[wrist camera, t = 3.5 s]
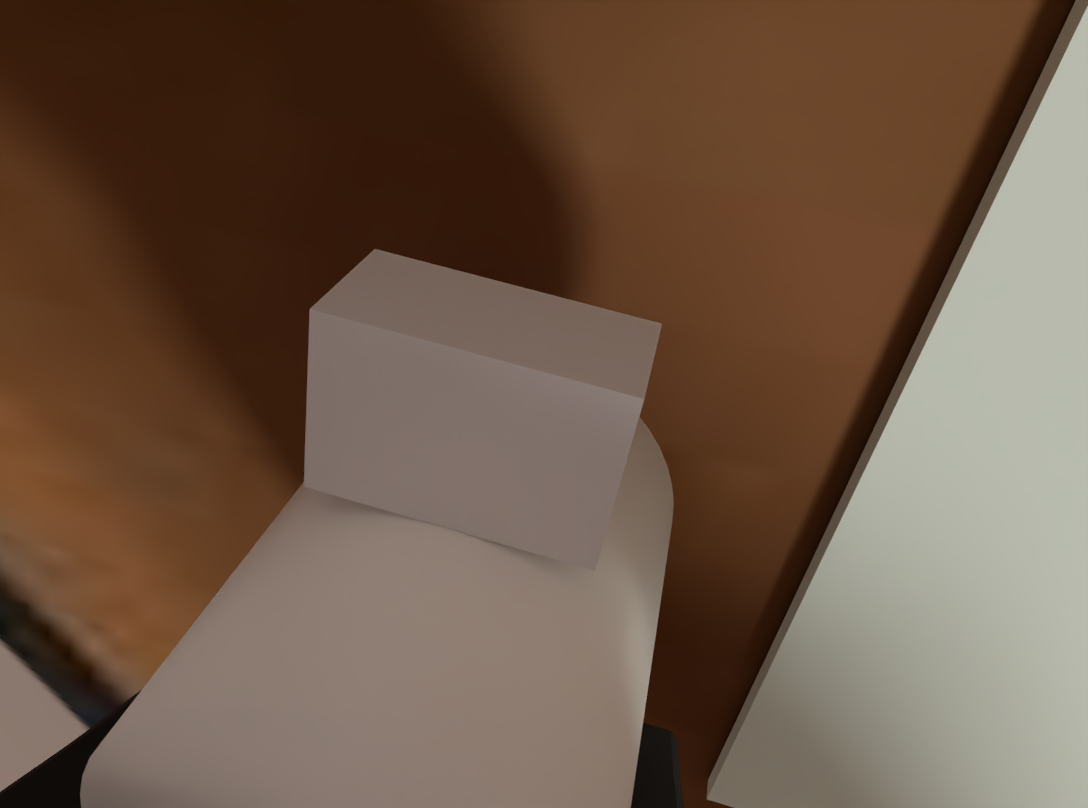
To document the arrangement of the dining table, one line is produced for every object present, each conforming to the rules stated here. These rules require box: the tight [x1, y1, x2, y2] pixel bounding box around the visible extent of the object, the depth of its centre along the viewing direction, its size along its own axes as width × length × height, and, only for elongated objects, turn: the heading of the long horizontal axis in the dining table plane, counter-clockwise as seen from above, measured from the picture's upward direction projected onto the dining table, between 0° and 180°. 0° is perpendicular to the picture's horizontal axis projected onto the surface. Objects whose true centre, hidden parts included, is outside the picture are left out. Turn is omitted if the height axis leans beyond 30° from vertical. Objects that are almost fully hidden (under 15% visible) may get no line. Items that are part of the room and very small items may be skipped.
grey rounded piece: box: [80, 249, 674, 808], centre depth 9 cm, size 11×4×5 cm, turn 170°
